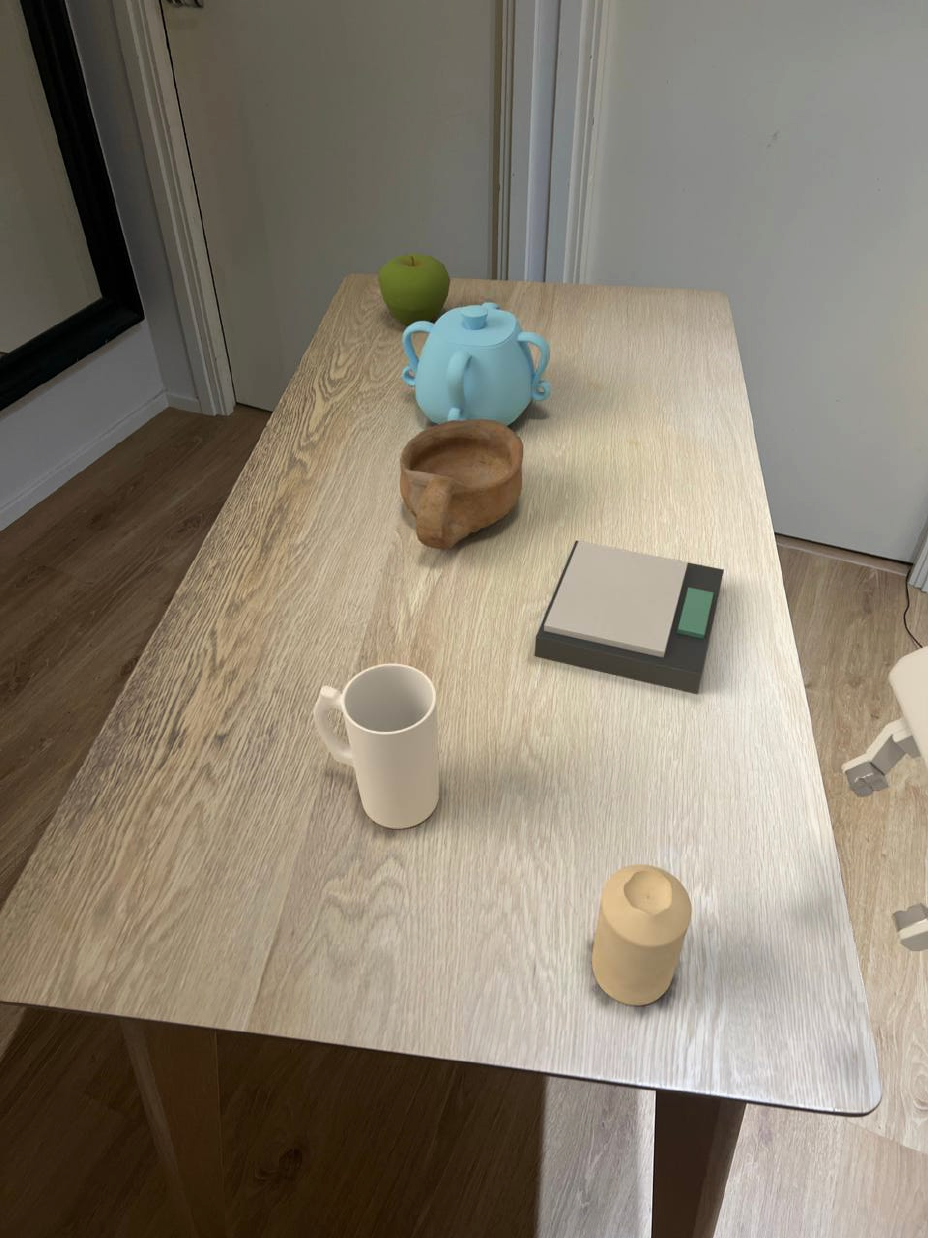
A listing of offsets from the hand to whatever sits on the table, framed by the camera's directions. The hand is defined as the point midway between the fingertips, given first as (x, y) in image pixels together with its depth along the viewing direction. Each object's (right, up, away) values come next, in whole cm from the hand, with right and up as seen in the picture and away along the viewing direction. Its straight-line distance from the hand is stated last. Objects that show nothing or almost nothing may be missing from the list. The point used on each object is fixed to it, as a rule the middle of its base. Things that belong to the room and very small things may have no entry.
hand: (873, 853), depth 49 cm
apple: (-30, +58, +86) cm, 108 cm away
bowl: (-23, +24, +49) cm, 59 cm away
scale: (-6, +13, +37) cm, 40 cm away
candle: (-11, -11, +12) cm, 20 cm away
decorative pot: (-21, +40, +66) cm, 80 cm away
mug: (-29, -1, +23) cm, 37 cm away
